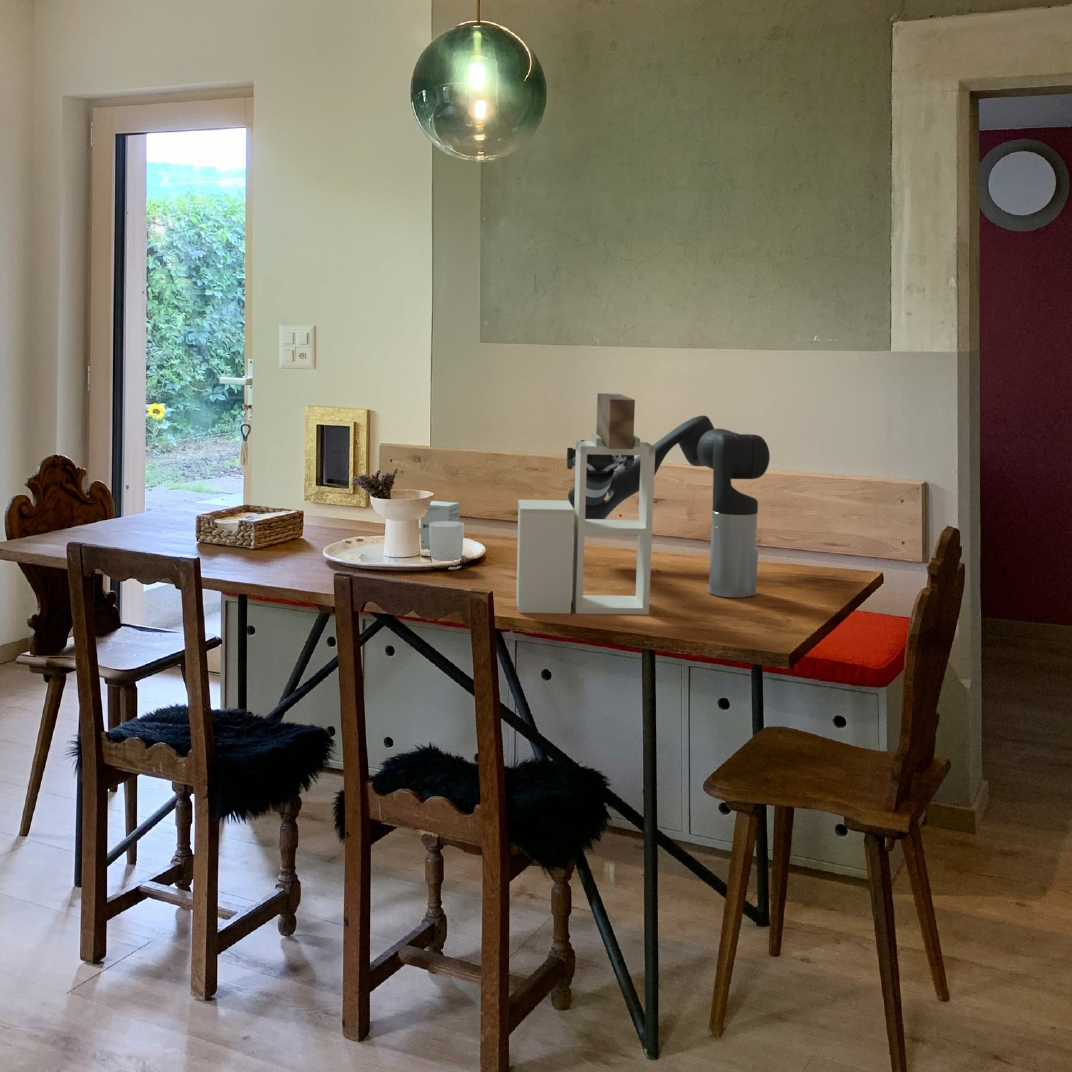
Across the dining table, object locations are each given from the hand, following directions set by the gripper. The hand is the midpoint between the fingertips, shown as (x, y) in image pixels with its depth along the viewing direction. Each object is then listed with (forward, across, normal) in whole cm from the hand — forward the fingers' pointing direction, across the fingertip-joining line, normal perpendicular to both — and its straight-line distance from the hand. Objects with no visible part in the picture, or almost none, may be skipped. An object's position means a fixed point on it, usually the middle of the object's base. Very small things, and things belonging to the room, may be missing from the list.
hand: (603, 444), depth 249 cm
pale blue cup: (-32, +33, -17) cm, 49 cm away
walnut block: (+17, 0, -8) cm, 18 cm away
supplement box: (-45, +35, -9) cm, 58 cm away
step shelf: (+2, +5, -36) cm, 36 cm away
